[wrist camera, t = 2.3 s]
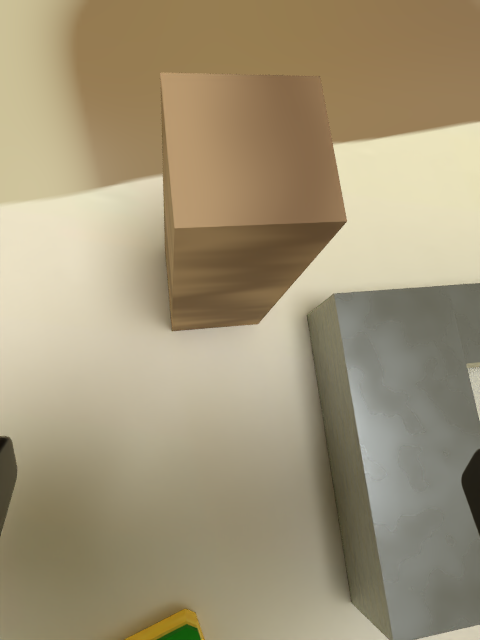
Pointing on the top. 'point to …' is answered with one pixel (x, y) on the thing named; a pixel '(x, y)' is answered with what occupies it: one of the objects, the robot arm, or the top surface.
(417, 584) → the hole plate
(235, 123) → the walnut block
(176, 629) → the dish sponge
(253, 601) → the top surface
